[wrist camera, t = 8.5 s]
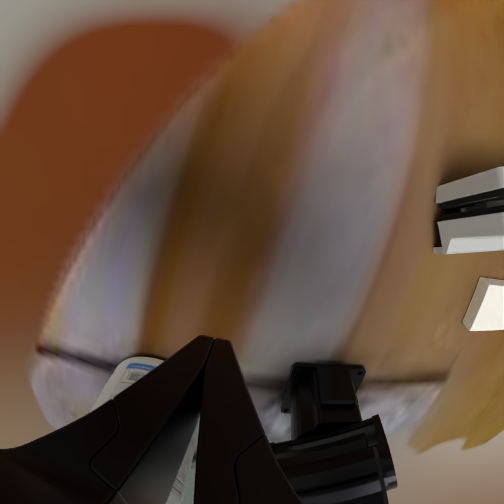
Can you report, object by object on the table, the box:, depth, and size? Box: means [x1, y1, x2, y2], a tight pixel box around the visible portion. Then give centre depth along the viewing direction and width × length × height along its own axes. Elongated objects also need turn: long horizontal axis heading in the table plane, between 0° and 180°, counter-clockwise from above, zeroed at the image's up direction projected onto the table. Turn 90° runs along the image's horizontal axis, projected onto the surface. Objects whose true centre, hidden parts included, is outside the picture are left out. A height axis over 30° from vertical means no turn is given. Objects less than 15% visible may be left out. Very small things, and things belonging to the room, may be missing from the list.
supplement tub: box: [89, 357, 200, 504], centre depth 18 cm, size 10×10×15 cm
